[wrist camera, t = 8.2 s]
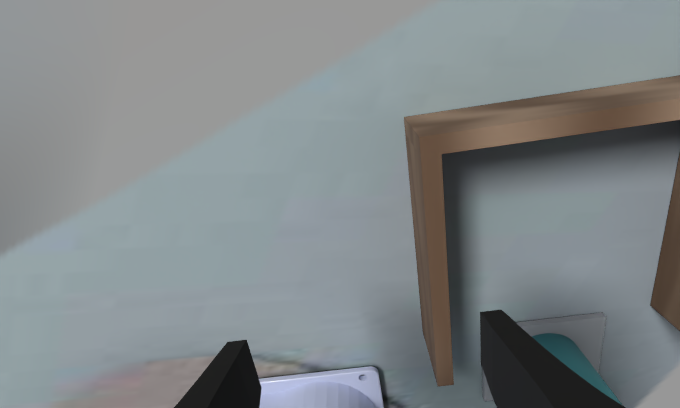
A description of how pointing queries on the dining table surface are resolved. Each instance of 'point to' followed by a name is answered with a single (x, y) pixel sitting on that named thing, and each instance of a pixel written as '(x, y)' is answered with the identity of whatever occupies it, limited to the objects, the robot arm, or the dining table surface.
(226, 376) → the robot arm
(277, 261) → the dining table surface
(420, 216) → the open u-shaped frame
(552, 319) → the mat
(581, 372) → the capsule
